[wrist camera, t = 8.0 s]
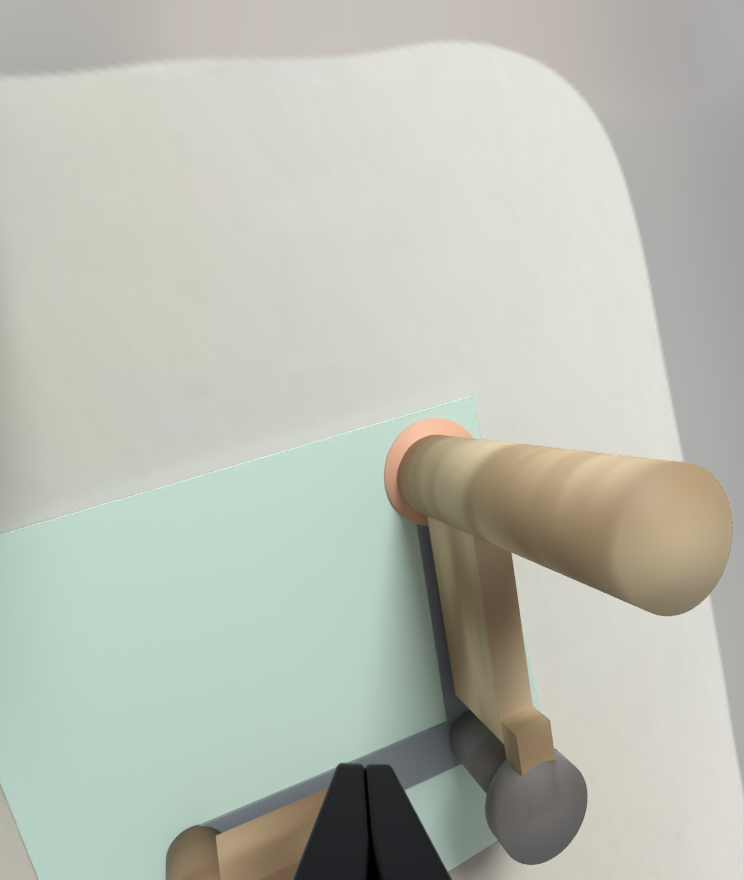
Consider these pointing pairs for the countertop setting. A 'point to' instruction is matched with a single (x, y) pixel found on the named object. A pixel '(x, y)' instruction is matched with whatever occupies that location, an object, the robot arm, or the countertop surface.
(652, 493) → the rail
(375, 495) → the card
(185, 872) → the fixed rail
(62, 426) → the countertop surface
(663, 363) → the countertop surface
